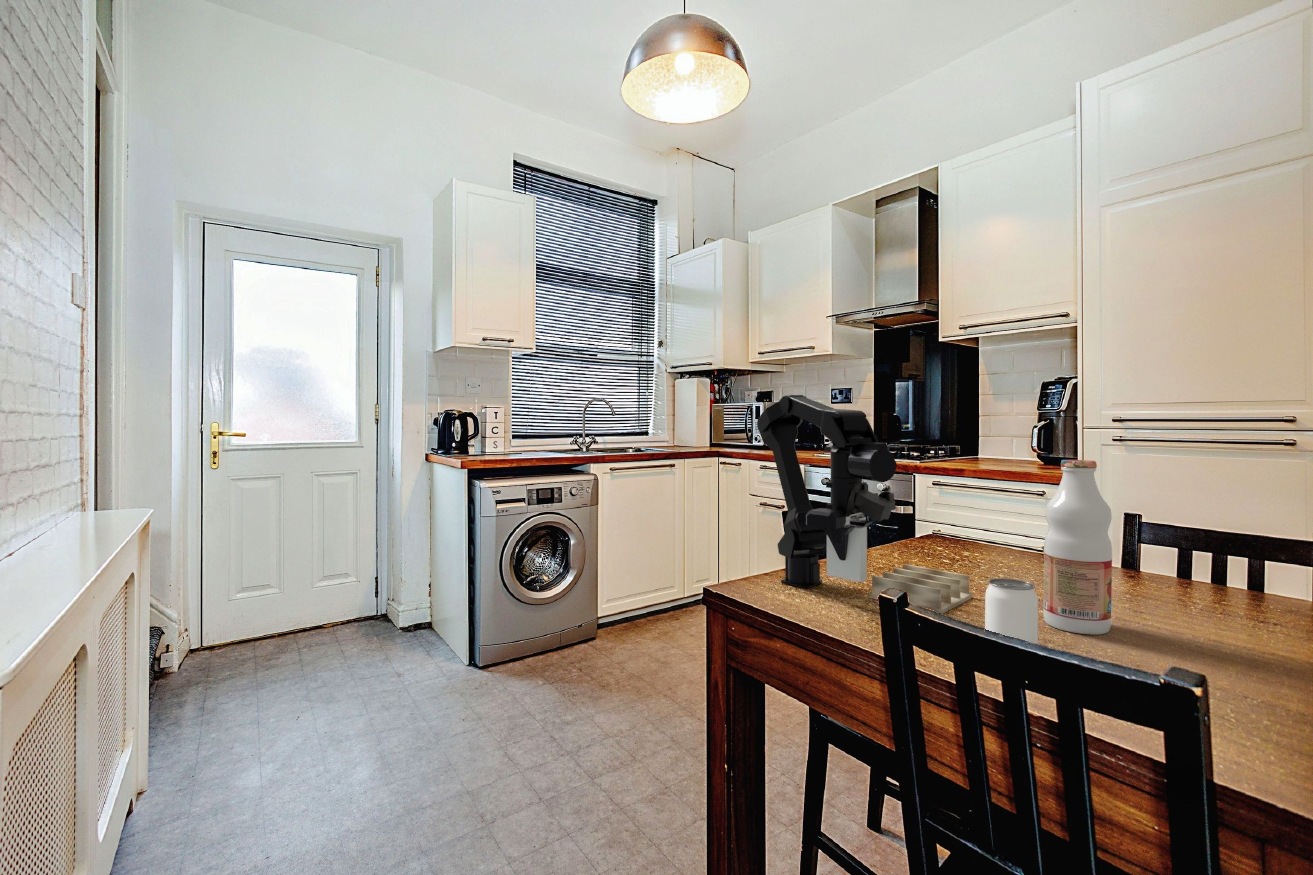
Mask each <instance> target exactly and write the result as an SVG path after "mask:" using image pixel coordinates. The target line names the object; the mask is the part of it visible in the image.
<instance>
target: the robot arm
mask: <svg viewBox="0 0 1313 875" xmlns="http://www.w3.org/2000/svg"><path fill="white" fill-rule="evenodd" d="M804 421H805V422H808V423H810V424H812V425H814V426H817V427H818V428H819V429H820V433H821V435H823V436H824V437H826V438H827V439H828V440H829V441H830V442H829V443H828V444H827V445H826V446H825V447H824V448H823V450H824V452H825V453H830V481H826V482H825V488H827V489H829V488H830V502H829V503H826V504H825V508H822V507H821V508H820V507H819V508H815V509H814V508H813V506H812V504H811V502H810V497H809V495H808V491H807V487H806V484H805V480H804V476H803V472H802V469H801V468H802V467H801V465H800V462H799V459H798V458H799V456H798V454H797V450H796V446H795V443H796V440H797V437H798V434H799V431H798V428H799V427H800V426H801V424H802V423H803V422H804ZM756 426H757V430H758V432H759V435H760V438H761V440H762V442H763V443H764V444H765V445H766V446H767V447H768V448H769V449H770V451H772V454H773V458H774V462H775V465H776V471H777V473H778V478H779V481H780V486H781V489H782V492H783V497H784V500H785V504H786V508H787V514H786V517H785V518H786V519H785V521H784V524H783V527H784V534H783V535H782V537H781V538H780V540H779V541H778V542H777V549H778V554H779V555H781V556H783V557H784V558H785V559H784V561H785V562H784V563H785V567H784V572H785V573H784V574H785V577H784V578H783V579H781V580H780V584H781V583H782V584H785V585H790V586H793V587H798V588H801V589H809V588H812V587H815V586H818V585H821V584H823V580H822V579H821V574H820V573H821V564H820V563H819V556H824V555H825V554H826V551H827V535H828V537H829V539H830V541H831V543H832V545H833V547H834V549H835V551H836V553H837V555H838V557H839V559H840V560H843V561H844V560H846V555H847V546H848V536H849V533H850V532H851V531H852V530H853V529H854V528H855V526H853V525H858V526H865V527H867V528H868V526H869V525H871V524H873V521H876V522H882V521H883V520H889V519H890V516H891V513H892V511H894V510H896V508H897V507H896V500H895V494H894V492H891V491H889V490H883V491H881V492H880V493H879V494H878V493H877V492H871V491H869V484H868V482H866V481H872V482H876V483H877V482H878V483H884V482H889V481H890V480H891V479H892V478H893V477H894V476H895V474H896V471H897V466H898V465H897V461H896V458H895V456H894V455H893V453H892V452H891V451H889V450H888V448H887V446H888V444H887V443H886V442H879V439H878V437H877V435H876V434H875V432H874V430H873V428H872V425H871V423H870V422H869V419H868V418H867V414H866V413H865V412H864V411H862V410H858V409H856V410H855V409H840V408H834V407H831V406H829V405H826V404H824V403H822V402H818V401H815V400H813V399H811V398H809V397H807V396H805V395H803V394H786V395H783V396H782V397H781V398H780V399H779V401H777V402H775V403H774V404H773V403H772V405H770V406H767V407H766V408H765V409H764V411H763V412H761V414H760V415H759V416H758V419H757V421H756ZM863 480H865V481H863ZM866 516H867V517H869V518H870V519H871V520H868V519H867V517H866ZM872 520H873V521H872Z"/></svg>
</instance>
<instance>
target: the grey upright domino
mask: <svg viewBox="0 0 1313 875" xmlns="http://www.w3.org/2000/svg"><path fill="white" fill-rule="evenodd" d="M853 526H855V528H854V529H853V530H852V531H851V532H850V533H849V536H848V546H847V555H846V560H844V561H843V560H840V559H839V557H838V555H837V553H836V551H835V549H834V547H833V545H832V543H831V541H830V539H829V537H828V535H827V546H826V576H828V577H832V578H838V579H843V580H847V581H851V582H857V583H863V582H866V581H867V580H868V578H867V577H868V526H867V527H865V526H858V525H853Z"/></svg>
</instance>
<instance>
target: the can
mask: <svg viewBox="0 0 1313 875" xmlns="http://www.w3.org/2000/svg"><path fill="white" fill-rule="evenodd" d="M988 583H989V584H988V586H987V587H986V590H985V597H984V605H985V606H984V630H985V629H986V630H989V631H992V632H996V633H1000V634H1002V635H1005V636H1010V637H1014V638H1019V639H1022V640H1025V641H1029V642H1033V643H1037V644H1038V645H1039V597H1038V595H1037V591H1035V584H1034V583H1031V582H1029V581H1025V580H1020V579H1015V578H1005V577H1004V578H1003V577H1000V578H999V577H998V578H997V577H996V578H991V579H989V580H988Z"/></svg>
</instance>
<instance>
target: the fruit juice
mask: <svg viewBox="0 0 1313 875" xmlns="http://www.w3.org/2000/svg"><path fill="white" fill-rule="evenodd" d="M1097 467H1098V465H1097V461H1096V460H1086V459H1062V460H1061V462H1060V470H1061V471H1062V476H1061V477H1062V478H1061V480H1060V483H1059V484H1058V488H1057V490H1056V492H1055V494H1054V495H1053V496H1052V497H1051V498H1050V499H1049V501H1047V504H1046V507H1045V512H1044V513H1045V518H1046V522H1047V525H1048V529H1047V533H1046V534H1045V535H1044V543H1043V598H1042V599H1043V603H1042V604H1043V606H1042V607H1043V608H1042V610H1043V611H1042V612H1043V613H1042V614H1043V619H1044V621H1045V623H1046V624H1047V625H1049V626H1050V627H1052V628H1054V629H1058V630H1061V631H1065V632H1069V633H1074V634H1080V635H1093V636H1094V635H1095V636H1096V635H1104V634H1107V633H1109V632H1110V630H1111V625H1112V580H1113V573H1112V572H1113V546H1112V542H1111V541H1112V540H1111V538H1110V537H1109V528H1110V526H1111V523H1112V518H1113V516H1112V515H1113V514H1112V509H1111V507H1110V506H1109V504H1108V503H1107V502H1106V501H1105V499H1104V498H1103V496H1102V494H1101V493H1100V490H1099V488H1098V484H1097V482H1096V478H1095V472H1096V471H1097Z"/></svg>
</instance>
